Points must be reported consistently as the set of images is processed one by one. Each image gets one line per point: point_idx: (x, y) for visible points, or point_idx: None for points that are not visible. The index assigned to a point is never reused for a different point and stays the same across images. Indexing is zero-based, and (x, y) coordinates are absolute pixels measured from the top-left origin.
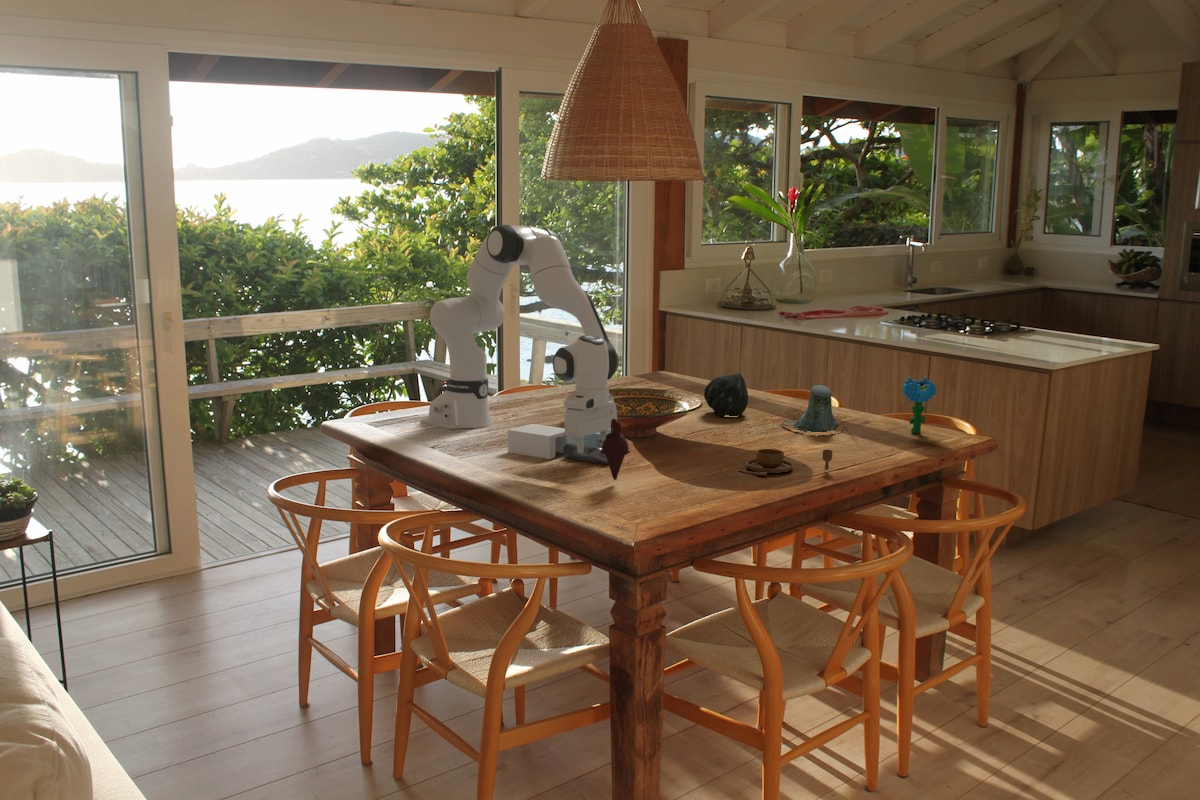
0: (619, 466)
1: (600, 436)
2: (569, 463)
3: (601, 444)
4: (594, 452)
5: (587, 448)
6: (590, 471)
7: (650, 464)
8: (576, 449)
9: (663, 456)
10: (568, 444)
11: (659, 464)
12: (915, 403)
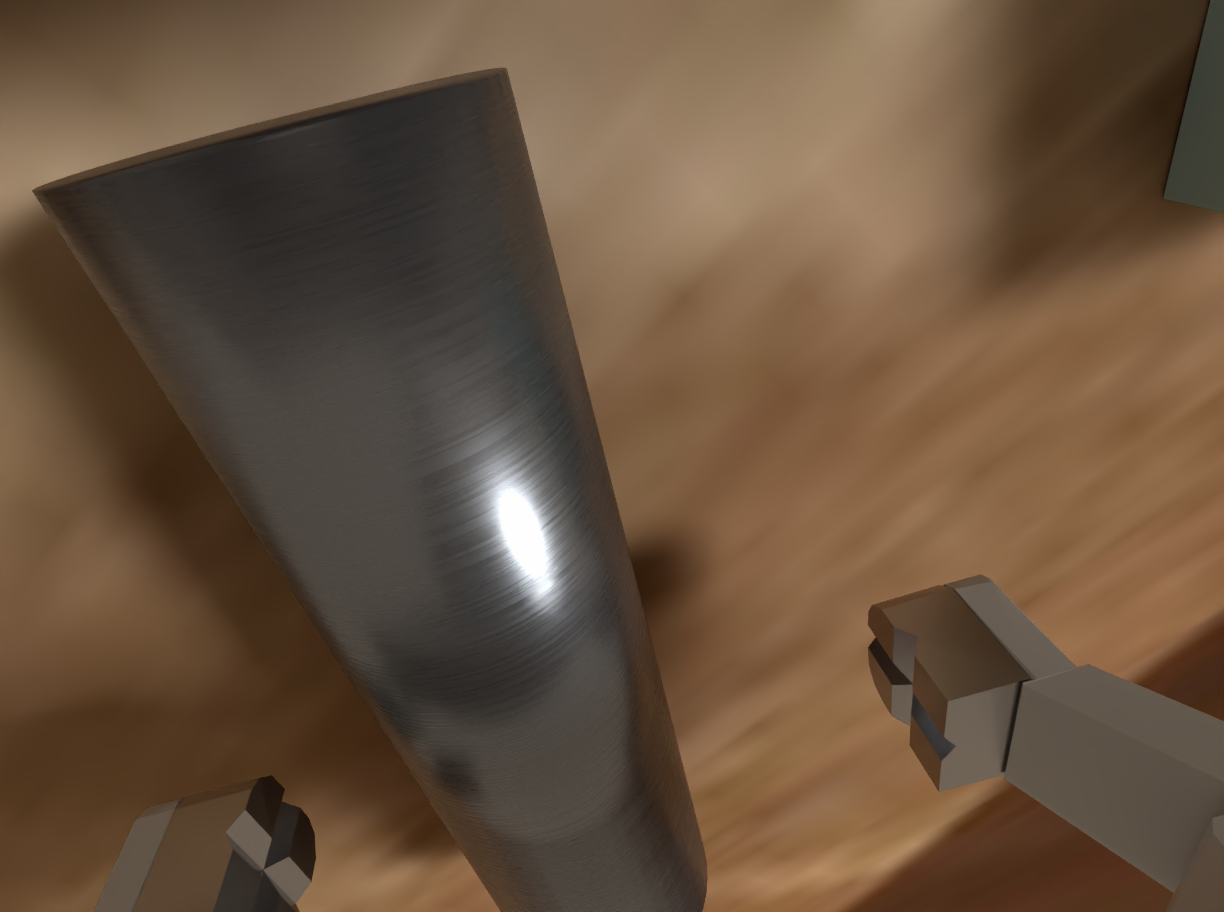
0: None
1: (1106, 746)
2: (101, 542)
3: (892, 699)
4: (464, 855)
5: (449, 782)
6: None
7: (857, 888)
8: (297, 593)
9: None
10: (205, 302)
11: (900, 904)
12: None
